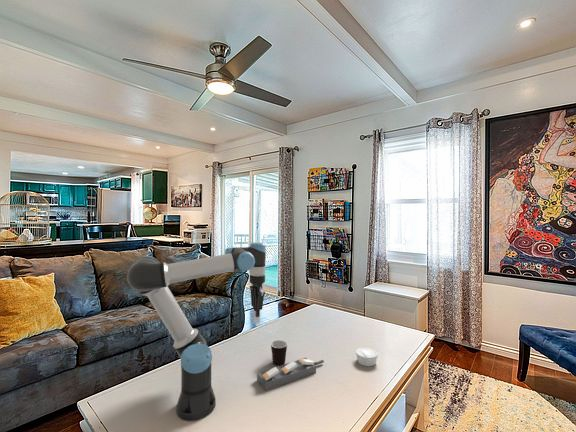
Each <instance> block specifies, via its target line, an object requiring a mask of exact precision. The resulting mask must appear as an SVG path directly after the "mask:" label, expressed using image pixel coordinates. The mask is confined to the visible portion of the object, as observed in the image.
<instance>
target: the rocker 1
mask: <svg viewBox="0 0 576 432" xmlns="http://www.w3.org/2000/svg"><path fill="white" fill-rule="evenodd" d="M276 367H277V366H274V367H272V368H273V369H272V368H270V369H271V370H269V371H268V372H266V373H264V374H263V378H264V379H265V380H268V379H270V378H271V377H273V376H274V375H276V374H278V373H279V370H278V369H277V368H276Z"/></svg>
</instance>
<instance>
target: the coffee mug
mask: <svg viewBox="0 0 576 432" xmlns="http://www.w3.org/2000/svg"><path fill="white" fill-rule="evenodd" d="M270 348H271V349H270V350H271V359H272V364H273V366H274V367H278V366H281V365H284V364H286V357H287V349H288V342H287V341H285V340H282V339H281V340H280V339H278V340H274V341H273V340H272V341H271V343H270Z"/></svg>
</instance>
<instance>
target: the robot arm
mask: <svg viewBox="0 0 576 432" xmlns="http://www.w3.org/2000/svg"><path fill="white" fill-rule="evenodd" d="M266 254H267V248H266V243H264V242H257V241H256V242H251V243H250V246H247V247H246V246H245V247H233V246H232V247H226V248H225V250H224V254H221V255H214V256H213V255H212V256H207V257H202V258H195V259H189V260H183V261H179V262H178V261H177V262H173V263H166V262H165V261H163V262H160V261H159V260H158V259H157V258H155V257H153V256H149V255H148V256H142V257H139V258H138V259H137V260H134V262H133V263H132V264H131V266H130V268H129V269H128V271H127V275H126V279H127V283H128V286H129V287H131V288H132V289H133V290H135V291H138V292H139V293H140V295H141V296H145V297H147V298H148V300H149V301H150V303H151V304H152V306H153V308H154V309H155V311H156V313H157V315H158V317H160V320H161V321H162V323H163V324H164V326H165V328H166V330H167V331H168V332H169V334H170V336H171V337H172V339H173V341H174V342H173V349H174V351H175V352H176V353H177V355H178V356H179V359H180V367H181V368H180V371H181V372H180V373H181V375H180V376H181V377H180V379H181V381H180V382H181V384H180V385H181V386H180V387H181V391H180V393H179V397H178V400H177V402H176V403H177V404H176V415H177V416H178V417H179V418H180V419H182V420H184V421H198V420H201V419H204V418H205V417H208V416H209V415H210V414H211V413H212V412H213V411H214V410H215V408H216V403H217V402H216V399H217V398H216V395H215V392H214V389H213V387H212V386H213V385H212V360H213V355H212V354H213V353H212V349H211V348H210V347H209V346H208V344H207V341H206V339H205V337H204V336H203V335H201V333H200V331H199V330H198V329H197V328H193V327H192V325H191V324H190V322H189V320H188V319H187V317H186V315H185V314H184V312H183V310H182V308H181V307H180V304H179V303H178V301H177V299H176V298H175V296H174V294H173V293H172V291H171V289H170V288H169V285H170V284H175V283H179V282H184V281H190V280H195V279H199V278H204V277H209V276H215V275H219V274H224V273H230V272H237V271H240V270H241V271H245V272H246V271H249V283H250V284H251V285H249V289H250V290H249V291H250V302H251V307H252V309H253V311H252V312H253V315H252V316H253V320H252V321H253V322H252V323H253V324H254V325H255V324H260V321H261V320H260V319H261V315H260V314H261V310H263V305H264V299H265V294H266V291H264V290H263V284H264V283H265V282H266V269H267V267H266V259H267V258H266V256H267V255H266ZM265 284H266V283H265Z"/></svg>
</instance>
